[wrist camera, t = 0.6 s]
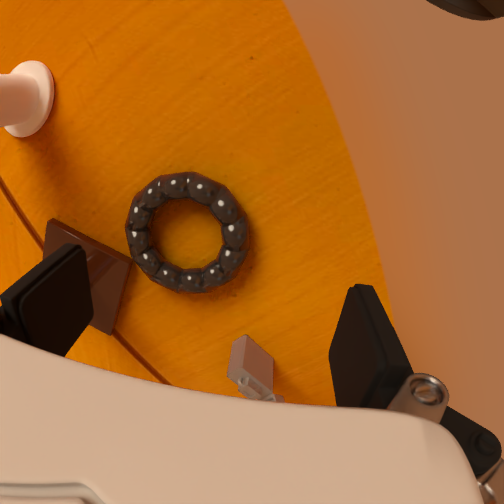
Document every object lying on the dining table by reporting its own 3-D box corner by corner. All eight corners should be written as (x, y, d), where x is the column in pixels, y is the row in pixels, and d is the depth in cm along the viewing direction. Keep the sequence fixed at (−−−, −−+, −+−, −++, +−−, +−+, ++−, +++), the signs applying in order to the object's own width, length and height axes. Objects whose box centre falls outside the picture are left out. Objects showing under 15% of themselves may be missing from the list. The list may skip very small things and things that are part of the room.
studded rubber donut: (154, 150, 22) (144, 154, 20) (272, 204, 23) (271, 212, 22) (120, 255, 26) (110, 265, 24) (220, 302, 27) (216, 316, 25)
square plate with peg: (53, 217, 25) (-30, 271, 15) (133, 259, 26) (68, 338, 16) (44, 291, 29) (-17, 353, 19) (114, 330, 30) (65, 410, 20)
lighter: (231, 342, 29) (219, 409, 22) (245, 333, 28) (235, 401, 21) (279, 383, 31) (278, 447, 23) (293, 375, 30) (295, 441, 23)
